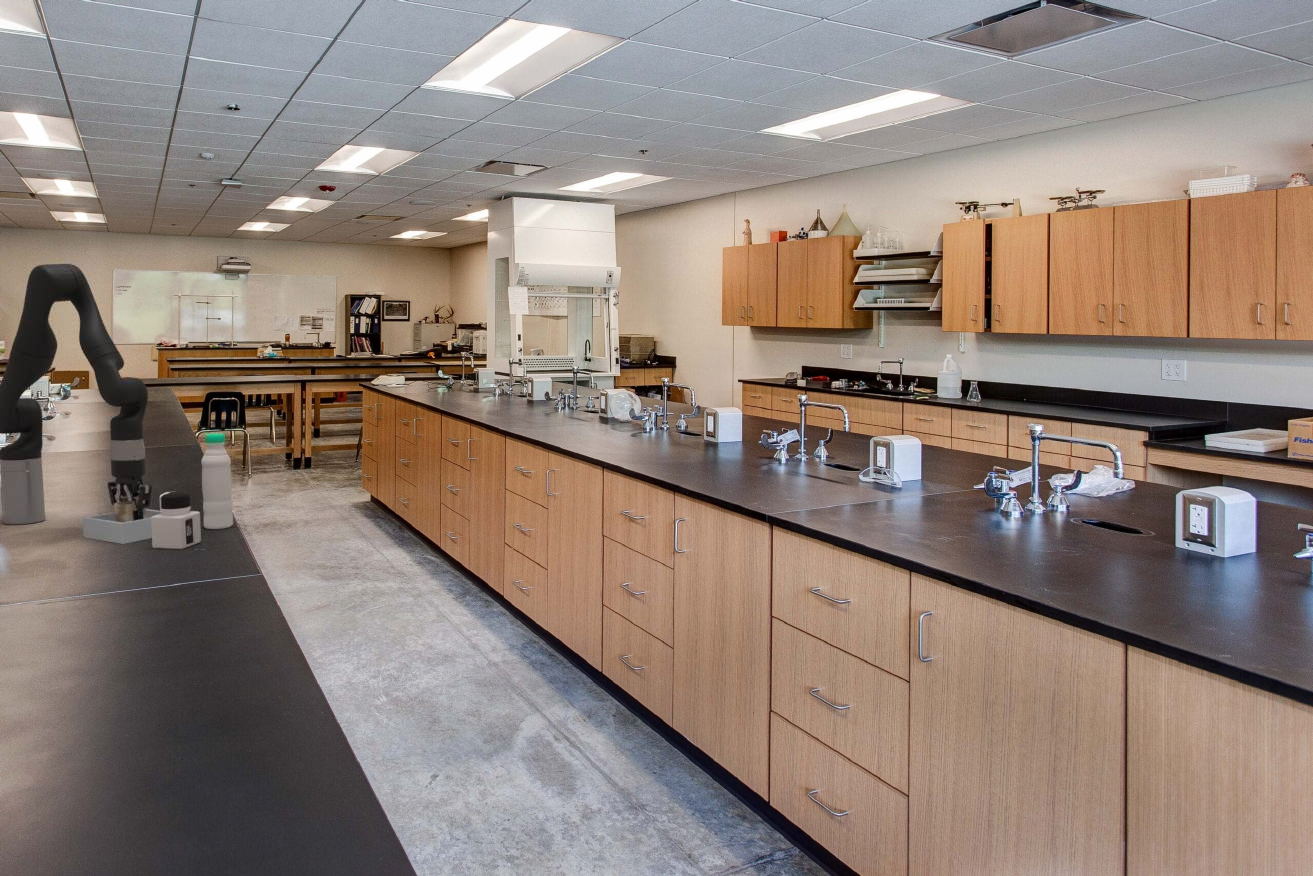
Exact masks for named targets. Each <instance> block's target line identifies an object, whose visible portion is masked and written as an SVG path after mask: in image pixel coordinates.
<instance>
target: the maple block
mask: <svg viewBox="0 0 1313 876" xmlns="http://www.w3.org/2000/svg"><path fill="white" fill-rule="evenodd" d="M144 503H145V501H144ZM136 504H137V505H138V501H136ZM113 507H114V511H113V512H115V522H122V523H124V522H130V521H133V511H134V510H133V507H132V504H131V502H129V501H124V500H123V502H118V503H114V505H113ZM146 509H147V508H145V509H143V518H144V519H146V518H147V514H146Z"/></svg>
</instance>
